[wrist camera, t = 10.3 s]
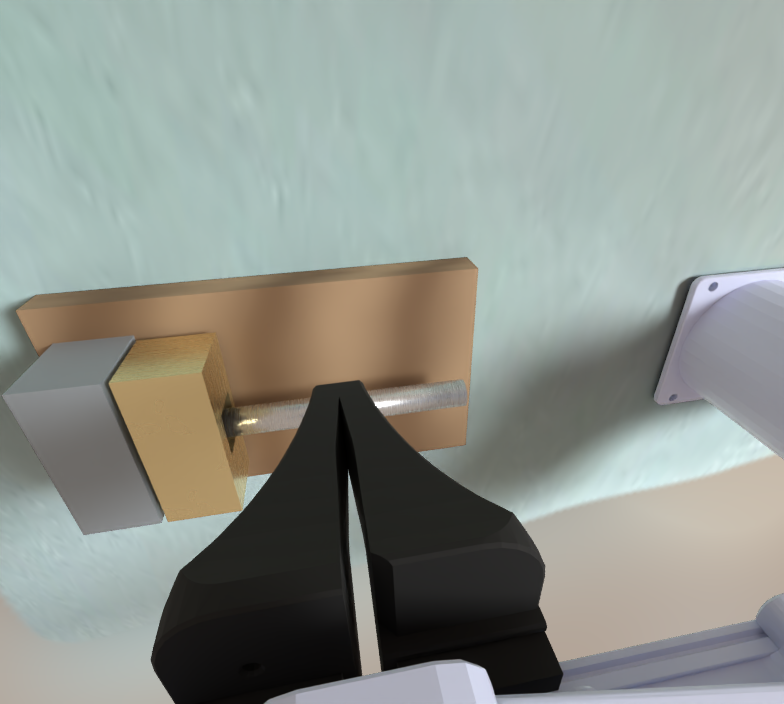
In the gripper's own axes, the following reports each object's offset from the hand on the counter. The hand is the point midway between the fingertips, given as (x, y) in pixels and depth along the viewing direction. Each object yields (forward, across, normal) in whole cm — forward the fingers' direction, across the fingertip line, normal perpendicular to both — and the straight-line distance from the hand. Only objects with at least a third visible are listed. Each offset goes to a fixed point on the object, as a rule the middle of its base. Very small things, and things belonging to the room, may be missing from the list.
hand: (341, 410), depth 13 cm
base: (+8, +3, +4) cm, 10 cm away
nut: (+7, +6, +4) cm, 10 cm away
